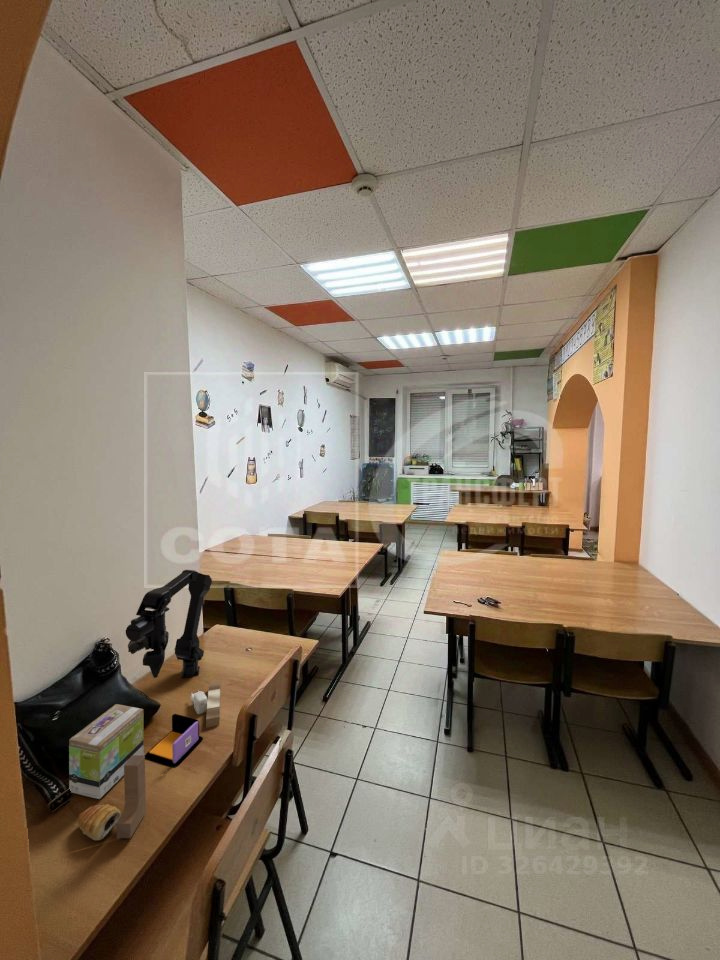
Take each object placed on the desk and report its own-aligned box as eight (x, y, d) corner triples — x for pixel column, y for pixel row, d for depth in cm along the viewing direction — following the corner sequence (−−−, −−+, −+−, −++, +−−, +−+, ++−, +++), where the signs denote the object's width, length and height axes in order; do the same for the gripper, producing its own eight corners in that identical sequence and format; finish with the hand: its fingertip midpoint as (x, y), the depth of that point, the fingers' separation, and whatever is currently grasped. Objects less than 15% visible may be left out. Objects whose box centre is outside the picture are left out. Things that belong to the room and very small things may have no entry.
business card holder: (204, 739, 118) (204, 718, 118) (175, 769, 107) (175, 746, 106) (173, 730, 122) (173, 710, 121) (142, 758, 110) (141, 736, 110)
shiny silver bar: (209, 691, 141) (208, 682, 141) (220, 689, 143) (220, 680, 142) (206, 728, 122) (206, 718, 122) (219, 725, 124) (219, 716, 124)
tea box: (100, 801, 97) (99, 746, 96) (68, 793, 99) (66, 739, 98) (145, 755, 111) (144, 707, 110) (116, 749, 113) (115, 702, 112)
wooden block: (133, 811, 94) (131, 754, 93) (146, 811, 94) (145, 754, 93) (116, 838, 87) (114, 777, 86) (130, 838, 87) (128, 777, 86)
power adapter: (188, 701, 135) (187, 687, 135) (200, 696, 138) (200, 683, 138) (196, 716, 128) (196, 702, 127) (209, 711, 130) (209, 697, 130)
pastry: (68, 832, 88) (67, 817, 88) (96, 805, 95) (95, 791, 94) (99, 844, 86) (98, 829, 85) (125, 816, 92) (124, 802, 92)
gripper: (134, 619, 138) (135, 661, 139) (124, 644, 121) (125, 690, 122) (168, 615, 142) (169, 655, 143) (163, 638, 125) (164, 683, 126)
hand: (157, 670), depth 133 cm, fingers open, 9 cm apart
